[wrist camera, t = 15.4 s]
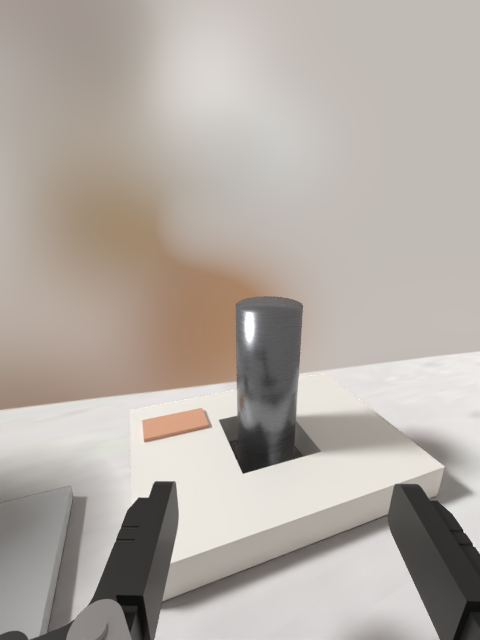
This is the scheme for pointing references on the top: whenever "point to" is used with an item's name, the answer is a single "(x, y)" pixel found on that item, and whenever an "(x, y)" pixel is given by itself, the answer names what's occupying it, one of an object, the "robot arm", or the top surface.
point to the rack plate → (269, 478)
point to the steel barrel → (267, 379)
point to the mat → (31, 558)
